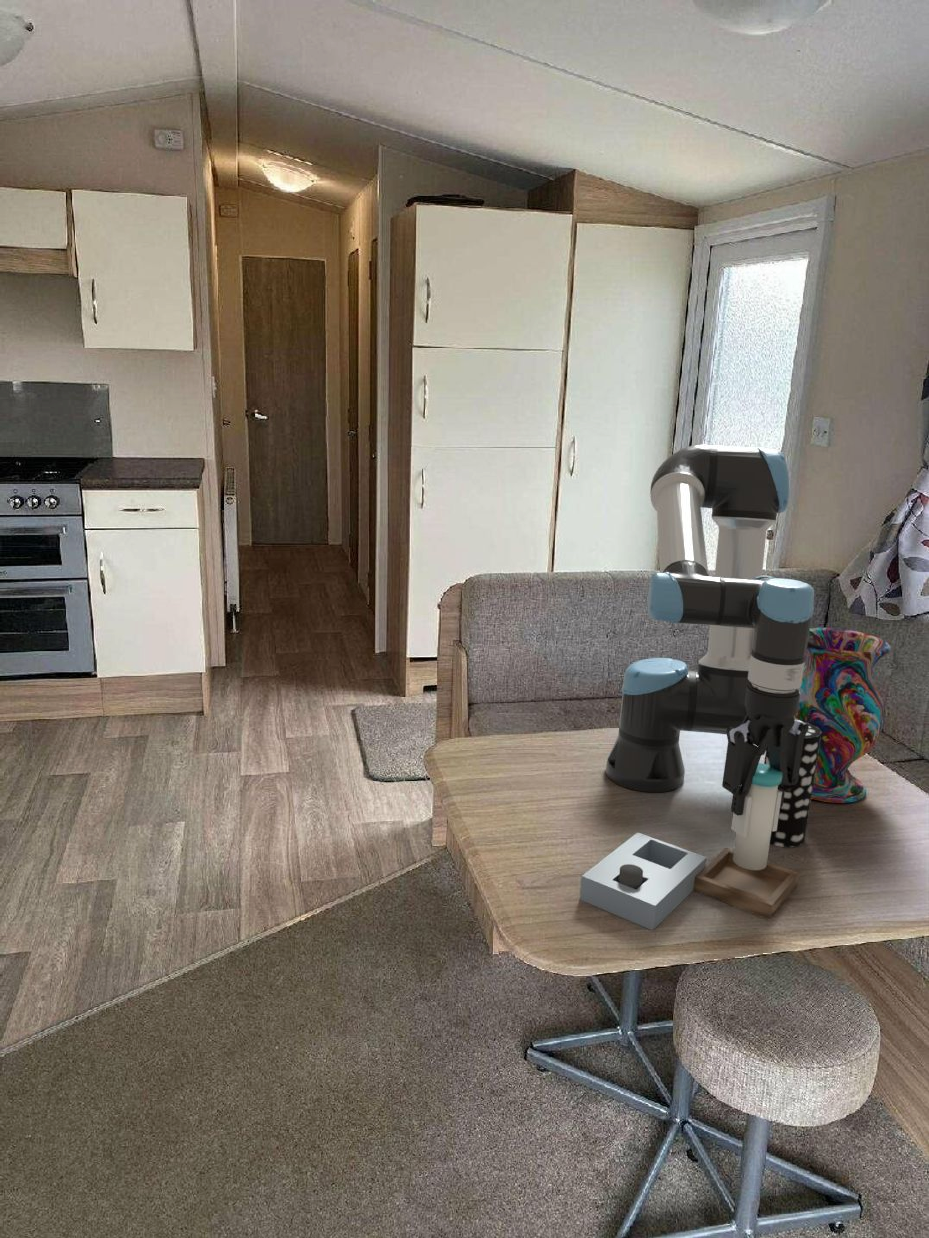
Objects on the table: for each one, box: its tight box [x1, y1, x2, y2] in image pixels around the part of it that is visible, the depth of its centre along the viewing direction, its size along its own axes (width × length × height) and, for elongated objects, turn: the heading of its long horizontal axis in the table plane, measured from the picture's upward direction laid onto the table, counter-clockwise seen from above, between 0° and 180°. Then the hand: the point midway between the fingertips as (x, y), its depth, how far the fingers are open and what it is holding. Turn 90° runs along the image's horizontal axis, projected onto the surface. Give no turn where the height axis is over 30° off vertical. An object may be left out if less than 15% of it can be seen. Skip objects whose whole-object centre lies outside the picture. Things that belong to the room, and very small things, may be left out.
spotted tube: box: [763, 722, 821, 848], centre depth 161 cm, size 8×8×20 cm
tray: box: [693, 846, 800, 920], centre depth 146 cm, size 12×12×2 cm
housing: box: [579, 831, 708, 931], centre depth 144 cm, size 12×18×4 cm, turn 143°
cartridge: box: [733, 762, 783, 870], centre depth 143 cm, size 6×6×15 cm
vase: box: [794, 627, 891, 804], centre depth 181 cm, size 18×18×30 cm
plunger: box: [618, 864, 643, 890], centre depth 140 cm, size 3×3×4 cm
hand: (753, 829), depth 144 cm, fingers closed on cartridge, 5 cm apart
